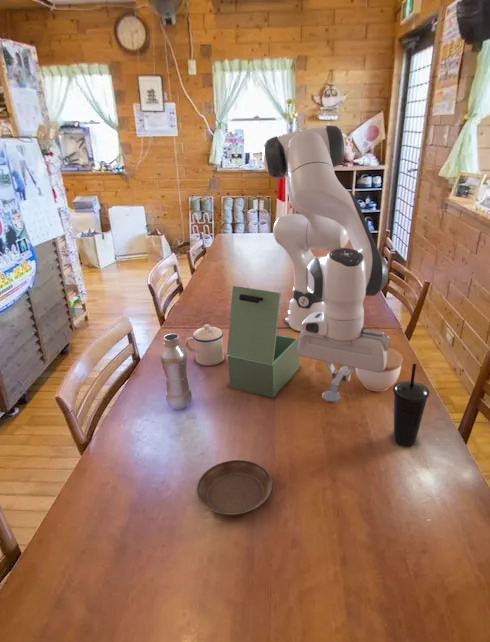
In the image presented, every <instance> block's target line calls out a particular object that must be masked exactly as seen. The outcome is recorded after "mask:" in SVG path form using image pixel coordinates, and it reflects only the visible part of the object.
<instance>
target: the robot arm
mask: <svg viewBox="0 0 490 642" xmlns="http://www.w3.org/2000/svg"><path fill="white" fill-rule="evenodd" d="M346 151H347V143H346V138H345V136H344V134H343V132H342V130H341V129H340V128H339V127H338V126H336V125H325V126H323V127H319V126H318V127H310V128H301V129H300V130H297V131H293V132H289V133H286V134H283V135H280V136H277V135H275V136H273V137H271V138H269V139H267V140H266V141H265V143H264V144H263V149H262V154H261V155H262V164H263V166H264V168H265V171H267V173H268V175H269V176H270V177H271V178H273V179H285V181H286V187H287V193H288V199H289V201H288V202H289V204H290V206H291V208H292V209H293V210H294V211H295V212H297V213H289V214H284V215H280V216H279V217H277V218H276V220H275V222H274V224H273V228H272V233H273V234H272V235H273V238H274V240H275V242H276V243H277V244H278V245H279V246H280V247H282V249H283V250H284V251H285V252H286V253H287V255H288V256H289V257H288V258H289V259H290V262H291V264H292V269H293V283H294V284H293V285H294V286H293V287H292V299H290V301H289V306H288V307H289V308H288V310H287V313H288V316H287V317H285V320H284V321H285V322H286V323H287V324H289V327H290V328H291V329H292V330H294V331H297V332H300V333H299V335H298V337H297V338H298V353H299V357H301V358H302V357H303V358H307V359H311V360H316V361H320V362H325V368H327V371H328V372H329V378H330V379H333V380H334V378H335V377H336V375H337V374H338V372H339V369H336V367H335V365H334V364H336V365H340V366H348V370H349V371H348V372H347V371H345V372H344V373H343V375H342V377H343V379H342V381H346V382H347V383H349V382H350V381H351V378H352V374H353V372H354V371H355V368H359V369H364V370H369V371H373V372H378V373H380V372H382V371H383V370H384V369H385V367H386V365H387V350H388V348H390V337H389V335H388V334H386V333H385V332H384V331H382V330H376V329H375V330H374V329H371V328H366V327H364V323H365V322H364V321H365V308H364V300H365V298H366V297H374V296H376V295H378V294H380V292H381V291H382V290H383V289H384V288H385V286H386V285H387V283H388V281H389V268H388V265H387V262H386V261H385V258H384V256H383V255H382V253H381V252H380V250H379V248H378V247H377V244H376V242H375V239H374V238H373V235H372V233H371V230H370V228H369V225H368V223H367V220H366V218H365V216H364V213H363V211H362V209H361V206H360V204H359V202H358V200H357V199H356V196H355V195H354V193H352V192H351V191H349V190H348V189H346V188H345V187H344V186H343V184H342V183H341V182H340V181H339V179H338V177H337V176H336V173H335V172H336V171H335V168H336V167H339V166H340V165H342V163H343V161H345V156H346ZM349 241H350V245H351V247H352V248H350V247H349V248H348V247H346V246H347V244H348V243H349ZM312 250H321V251H329V252H328V253H327V254H326V255H320V256H315V255H314V254H313V252H312ZM346 382H345V383H346Z"/></svg>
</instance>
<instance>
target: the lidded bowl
mask: <svg viewBox="0 0 490 642" xmlns="http://www.w3.org/2000/svg"><path fill="white" fill-rule="evenodd" d="M403 361H404V358H403V355H402V354H401V353H400V352H399V351H397V349H395V348H392V347H389V348H388V350H387V365H386V367H385V369H384V370H383V371H382V372H380V373H378V372H373V371H369V370H364V369H359V368H355V369H354V371H355V374H356V377H357V379H358V381H359V382H360V383H361V384H362V385H363V387H364V388H365V389H367V390H368V391H371V392H385V391H387V390H388V389H389V388H390V387H392V386H394V385H395V384H396V383H397V381H398V379H399V377H400V376H401V375H400V374H401V371H402V365H403Z"/></svg>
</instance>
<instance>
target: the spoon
mask: <svg viewBox="0 0 490 642" xmlns="http://www.w3.org/2000/svg"><path fill="white" fill-rule="evenodd" d="M341 366H342V367H341V368H340V369H339V370H338V374H337V375H336V377H335V378H334V379H333V380H332V381H331V383H330V389H329V390H326V391H324V392H323V393H322V395H321V400H322V401H323V402H324V403H326V404H331V405H333V404H337V403H339V402H340V401H341V394H340V391H341V390H342V388H343V387H344V386H345V384H346V381H342V379H343V377H342V375H343V373H344V372H345V371H347V372H348V371H349V370H348V366H345V365H341Z"/></svg>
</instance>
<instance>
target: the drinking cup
mask: <svg viewBox="0 0 490 642" xmlns="http://www.w3.org/2000/svg"><path fill="white" fill-rule="evenodd" d="M416 369H417V364H416V363H412V369H411V375H410V380H402V381H401V380H400V381H398V382H395V383H394V384H393V385H392V386H393V387H392V392H393V441H394V442H395V444H397V446H398V445H399V446H401V447H405V448H408V447H412V446H414V445H415V444H416V441H417V437H418V433H419V429H420V425H421V423H422V419H423V414H424V411H425V407H426V404H427V400H428V398H429V397H430V389H429V388H428V387H427V386H425V384H423V383H420V382H417V381H415V376H416Z"/></svg>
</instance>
